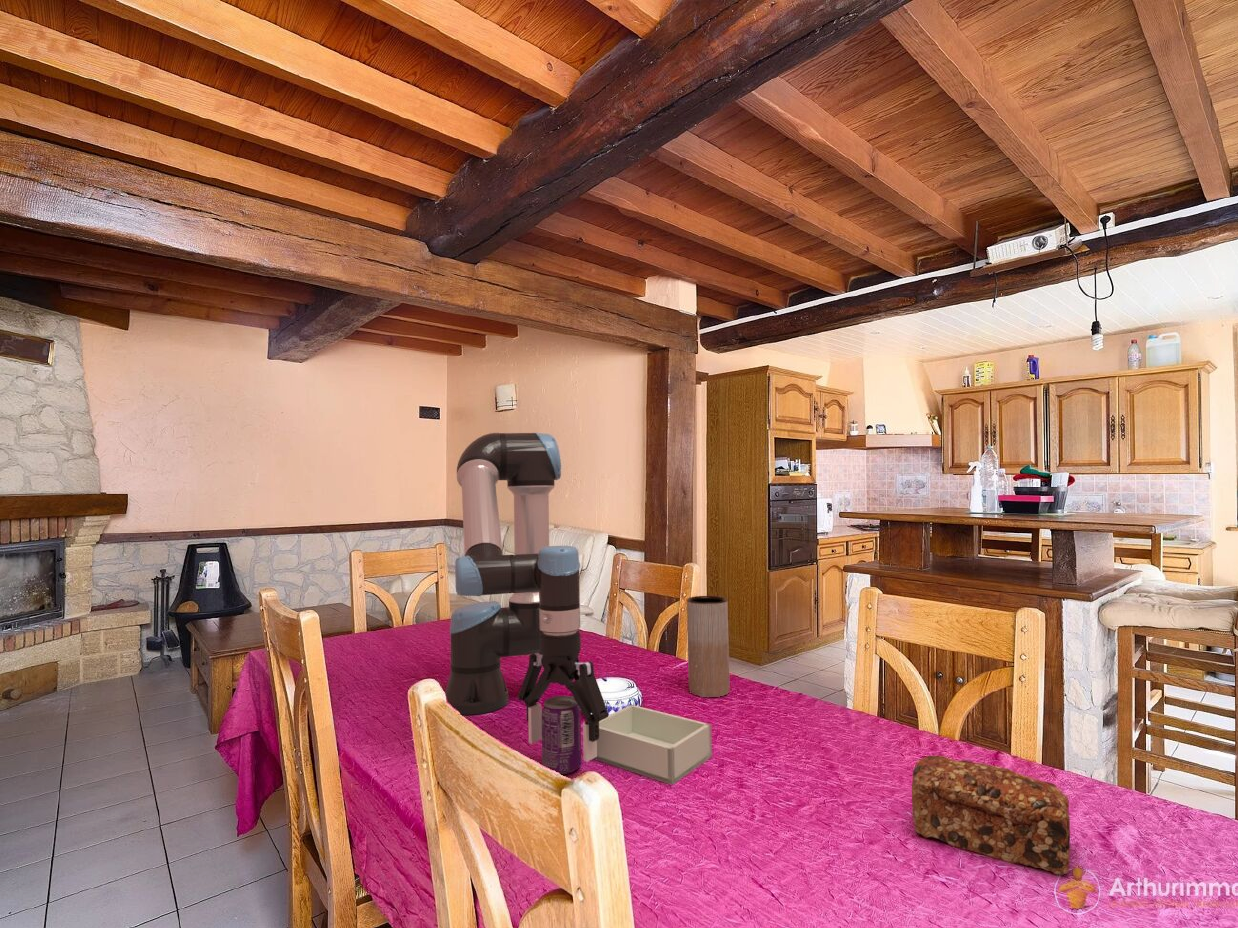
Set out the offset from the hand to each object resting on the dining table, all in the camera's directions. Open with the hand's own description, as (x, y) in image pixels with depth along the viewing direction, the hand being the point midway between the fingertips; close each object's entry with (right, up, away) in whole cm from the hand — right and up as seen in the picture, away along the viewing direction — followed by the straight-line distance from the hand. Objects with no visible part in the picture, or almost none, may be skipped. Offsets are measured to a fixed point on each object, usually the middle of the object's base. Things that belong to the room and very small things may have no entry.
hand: (561, 749), depth 112 cm
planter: (+33, -5, +41) cm, 52 cm away
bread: (+63, -2, -25) cm, 68 cm away
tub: (+16, -3, +4) cm, 17 cm away
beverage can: (0, -4, 0) cm, 4 cm away
